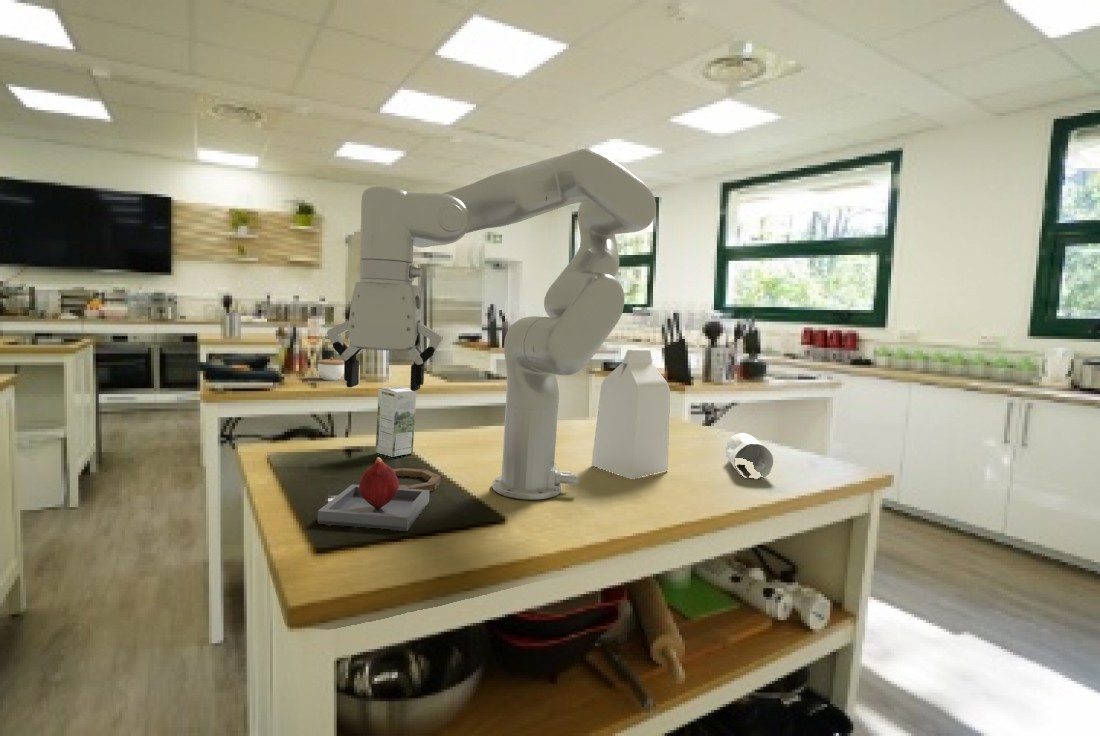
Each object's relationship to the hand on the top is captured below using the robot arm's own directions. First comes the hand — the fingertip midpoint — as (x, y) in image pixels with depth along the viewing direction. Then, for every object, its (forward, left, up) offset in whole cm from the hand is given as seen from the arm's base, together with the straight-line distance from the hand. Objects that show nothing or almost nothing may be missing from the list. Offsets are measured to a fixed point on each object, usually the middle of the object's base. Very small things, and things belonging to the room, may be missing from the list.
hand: (384, 387), depth 87 cm
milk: (-43, -37, -20) cm, 60 cm away
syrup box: (+8, -35, -20) cm, 41 cm away
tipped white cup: (-69, -43, -20) cm, 84 cm away
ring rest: (0, -15, -19) cm, 24 cm away
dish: (0, 0, -19) cm, 19 cm away
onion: (0, 0, -19) cm, 19 cm away
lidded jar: (+68, -145, -20) cm, 161 cm away
